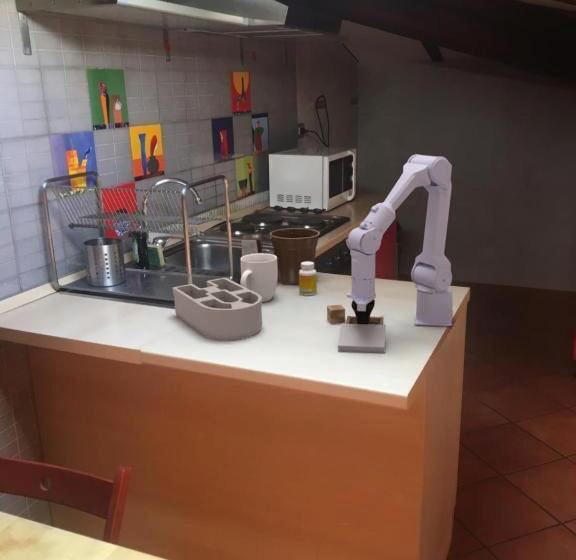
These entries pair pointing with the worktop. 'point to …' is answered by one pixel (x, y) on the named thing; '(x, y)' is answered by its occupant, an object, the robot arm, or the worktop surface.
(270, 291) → the mug
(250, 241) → the coffee box
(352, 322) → the frame
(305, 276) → the supplement bottle
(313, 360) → the worktop surface
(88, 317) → the worktop surface
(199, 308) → the compartment caddy
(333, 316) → the beech block
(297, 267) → the plant pot
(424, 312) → the robot arm
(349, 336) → the lid
